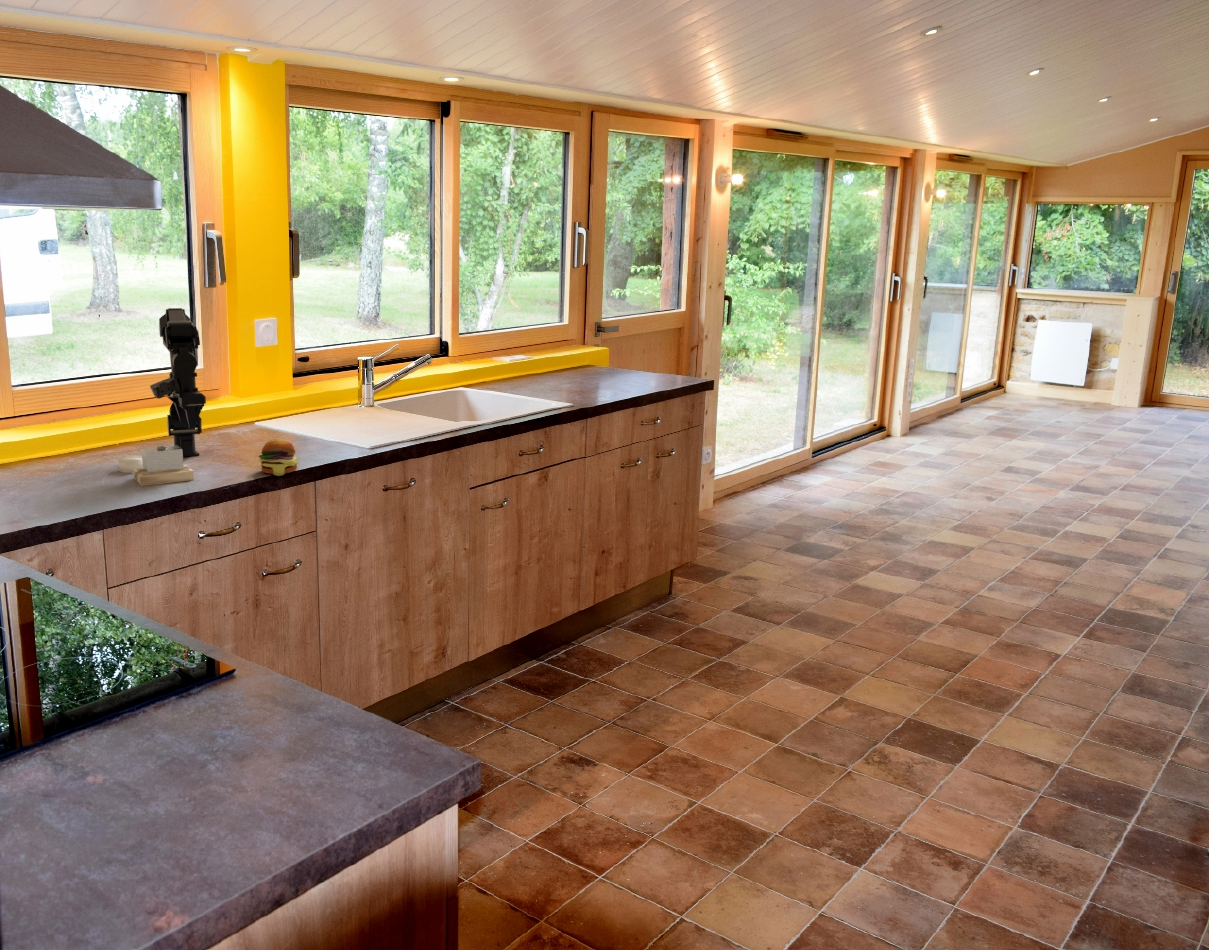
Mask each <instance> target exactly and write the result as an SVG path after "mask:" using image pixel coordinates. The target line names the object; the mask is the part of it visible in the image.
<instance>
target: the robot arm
mask: <svg viewBox="0 0 1209 950" xmlns="http://www.w3.org/2000/svg"><path fill="white" fill-rule="evenodd" d="M185 310H186V309H185V308H182V307H177V308H176V307H174V308H173V307H172V308H167V309H165V313H164V314H163V315H162V316H161V317H159V319H158V321H159V322H158V328H159V329H158V330H159V336H160V338H162V344H163V346H164V347H165V348H166V349H167V351H168V352H169V360H170V369H171V371H170V372H169V374H168V375H169V377H168V378H165V379H162V380H159V381H157V382H155V383H153V384H151V385H150V386H149V388H150V390H151V392H152V394H153V396H154V397H155V398H156V399H157V400H158V399H162V398H164V397H165V396H166V397H167V399H169V400H170V401H171V402H172V403H171V405H170V406H169V414H167V415H166V418H167V421H166V422H167V433H168V437H171V436H173V446H176V445H177V446H179V447H180V448H182V451H183V458H184V457H194V456H199V455H200V453H199V451H197V450H196V435H201V434H202V433H203V431H202V430H203V429H202V421H203V420H202V417H201V415H200V414H201V412H202V410H203V408H204V406H205V404H207V397H206V396H205V394H203V393H202V392H200V391H199V388H198V387H197V385H196V384H197V383H196V382H197V381H196V378H197V377H198V373H197V372H196V369H197V367H198V361H197V358H196V356H195V355H194V353H195V352H194V351H193V350H197V349H199V346H200V345H201V341H200V334H199V329H198V328H197V326H196V325H194V323H193V321H191V318H190V317H189V316H188V315H187V314H186V311H185Z"/></svg>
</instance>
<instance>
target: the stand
mask: <svg viewBox="0 0 1209 950" xmlns="http://www.w3.org/2000/svg"><path fill="white" fill-rule="evenodd" d="M183 465H184V469H182V470H173V471H164V472H155V473H147V472H146V471H145V470H143V468H139V469H133V473H132V474H133V479H134V480H135V481H136V482H137V483H138V484H139V485H140V486H142V487H145V486H153V485H161V484H163V485H164V484H170V483H179V482H188V481H194V480H195V478H194V477H195V476H194V475H195V474H194V470H193V469H192V468H190V467H189V466H188V465H187V464H186V463H183Z"/></svg>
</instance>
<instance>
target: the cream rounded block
mask: <svg viewBox="0 0 1209 950" xmlns="http://www.w3.org/2000/svg"><path fill="white" fill-rule="evenodd" d="M117 461H118V472H120V473H121V474H122V473H123V474H134V473H133V469H139V468H143V461H142V455H125V456H124V455H123V456H121V457H119V458H117Z"/></svg>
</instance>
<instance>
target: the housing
mask: <svg viewBox="0 0 1209 950" xmlns="http://www.w3.org/2000/svg"><path fill="white" fill-rule="evenodd" d="M141 456H142V461H143V470H145V471H146V472H147V473H155V472H164V471H173V470H182V469H184V465H183V464H184V457H183V451H182V448H180V447H179V446H177V445H176V446H174V445H158V446H156V447H148V448H141Z"/></svg>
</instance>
